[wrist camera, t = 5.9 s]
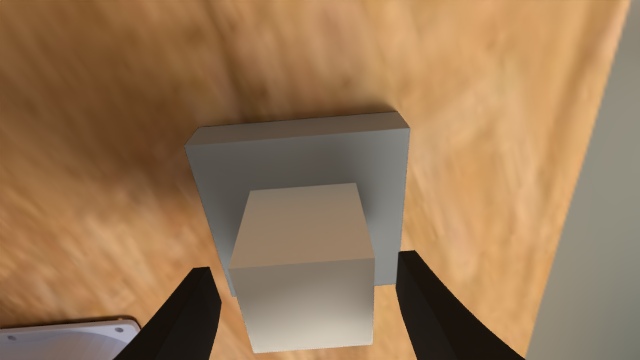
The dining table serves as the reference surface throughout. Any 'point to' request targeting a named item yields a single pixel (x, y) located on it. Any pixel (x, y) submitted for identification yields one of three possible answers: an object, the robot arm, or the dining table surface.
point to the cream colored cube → (304, 269)
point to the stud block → (305, 173)
